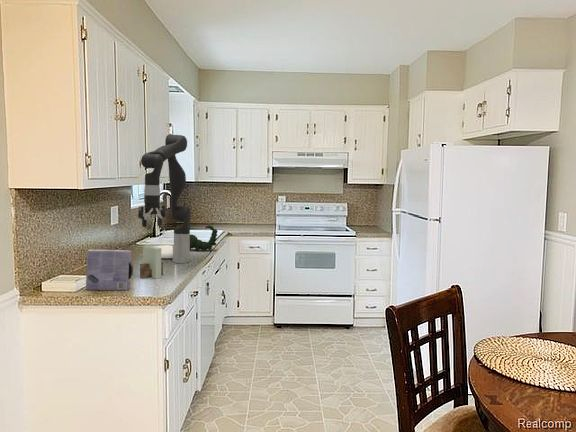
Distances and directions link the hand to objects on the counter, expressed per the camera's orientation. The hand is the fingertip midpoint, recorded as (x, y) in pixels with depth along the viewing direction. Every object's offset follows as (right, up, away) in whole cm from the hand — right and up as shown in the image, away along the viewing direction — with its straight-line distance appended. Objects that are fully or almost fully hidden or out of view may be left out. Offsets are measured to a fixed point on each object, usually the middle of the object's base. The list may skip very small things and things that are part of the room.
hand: (152, 226), depth 229 cm
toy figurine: (+7, -19, +84) cm, 87 cm away
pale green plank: (-1, -25, +2) cm, 25 cm away
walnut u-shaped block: (-1, -25, +2) cm, 25 cm away
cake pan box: (-11, -28, -25) cm, 39 cm away
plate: (-9, -21, +61) cm, 65 cm away
